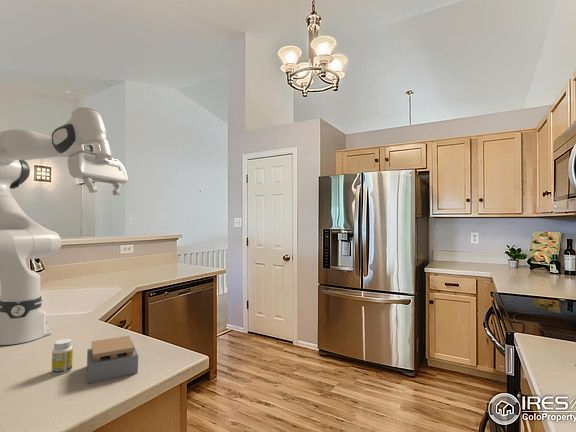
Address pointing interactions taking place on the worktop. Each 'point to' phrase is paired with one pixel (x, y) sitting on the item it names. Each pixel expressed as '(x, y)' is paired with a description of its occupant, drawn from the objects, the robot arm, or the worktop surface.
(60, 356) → the supplement bottle
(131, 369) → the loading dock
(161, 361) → the worktop surface
